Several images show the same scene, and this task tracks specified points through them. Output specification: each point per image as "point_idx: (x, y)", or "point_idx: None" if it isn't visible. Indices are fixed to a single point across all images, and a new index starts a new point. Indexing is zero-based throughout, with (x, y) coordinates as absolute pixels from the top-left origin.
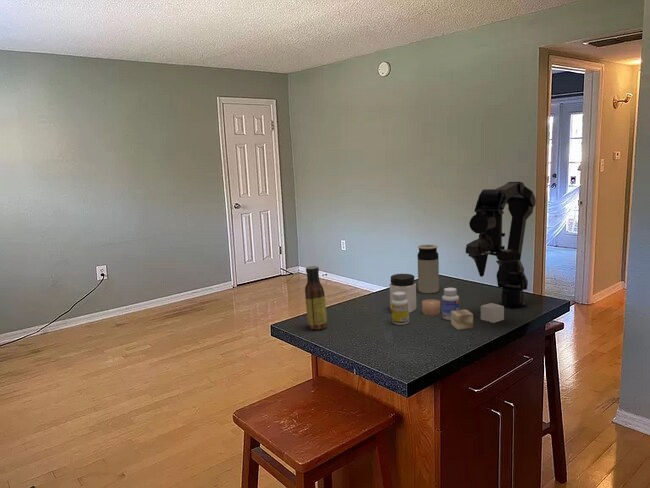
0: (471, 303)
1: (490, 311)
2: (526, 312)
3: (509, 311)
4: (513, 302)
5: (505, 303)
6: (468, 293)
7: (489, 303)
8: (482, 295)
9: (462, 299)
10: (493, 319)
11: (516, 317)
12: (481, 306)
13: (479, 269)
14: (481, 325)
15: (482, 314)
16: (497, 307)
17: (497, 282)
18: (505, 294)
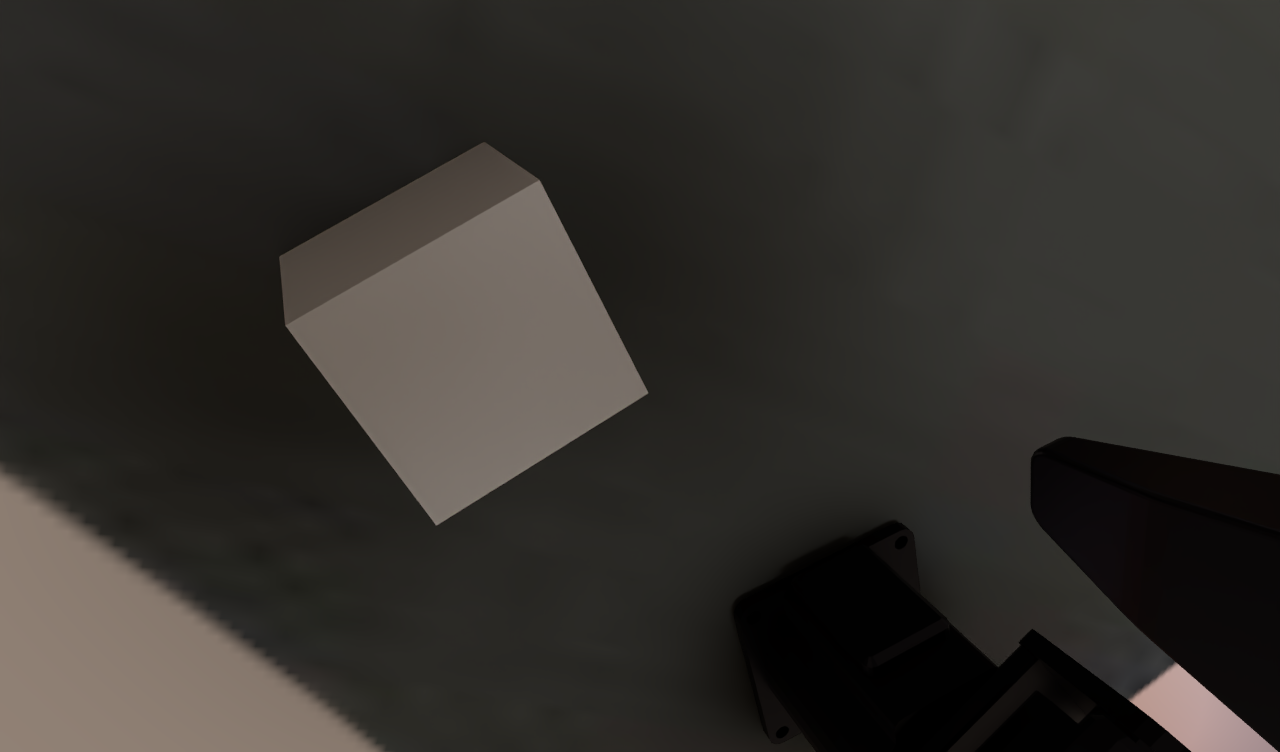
0: (1038, 263)
1: (342, 273)
2: (584, 702)
3: (665, 559)
4: (792, 657)
5: (819, 578)
6: (1269, 342)
7: (629, 364)
8: (1165, 446)
9: (1177, 218)
10: (285, 270)
11: (448, 580)
12: (524, 188)
13: (1260, 530)
14: (180, 28)
15: (474, 172)
16: (389, 417)
17: (1080, 665)
18: (884, 645)
